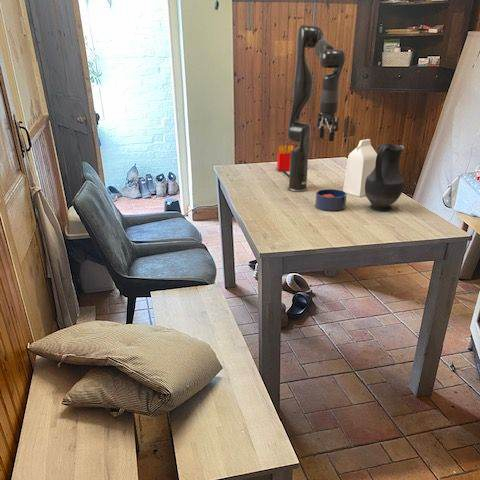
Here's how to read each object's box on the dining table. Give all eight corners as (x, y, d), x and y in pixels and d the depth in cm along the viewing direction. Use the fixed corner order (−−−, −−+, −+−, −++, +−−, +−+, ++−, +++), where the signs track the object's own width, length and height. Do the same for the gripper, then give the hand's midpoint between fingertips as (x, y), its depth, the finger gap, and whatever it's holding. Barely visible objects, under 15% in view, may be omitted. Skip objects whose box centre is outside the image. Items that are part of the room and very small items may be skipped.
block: (321, 204, 240) (321, 194, 238) (329, 202, 242) (330, 193, 239) (325, 206, 237) (326, 197, 234) (334, 205, 238) (334, 196, 236)
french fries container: (276, 168, 302) (277, 144, 295) (291, 168, 303) (292, 144, 296) (279, 171, 296) (280, 147, 289) (294, 171, 297) (295, 146, 290)
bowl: (309, 204, 242) (310, 191, 238) (335, 200, 246) (336, 187, 243) (324, 213, 230) (326, 199, 227) (351, 209, 235) (352, 195, 232)
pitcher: (404, 206, 238) (415, 141, 222) (389, 218, 223) (400, 149, 208) (370, 200, 246) (378, 137, 231) (353, 212, 231) (360, 145, 216)
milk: (359, 196, 252) (365, 143, 239) (342, 191, 260) (348, 139, 247) (375, 192, 258) (382, 140, 245) (358, 187, 266) (364, 136, 253)
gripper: (313, 99, 223) (311, 137, 231) (330, 103, 212) (327, 143, 220) (328, 98, 226) (325, 136, 234) (345, 102, 214) (341, 141, 223)
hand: (326, 139), depth 227 cm, fingers open, 8 cm apart
